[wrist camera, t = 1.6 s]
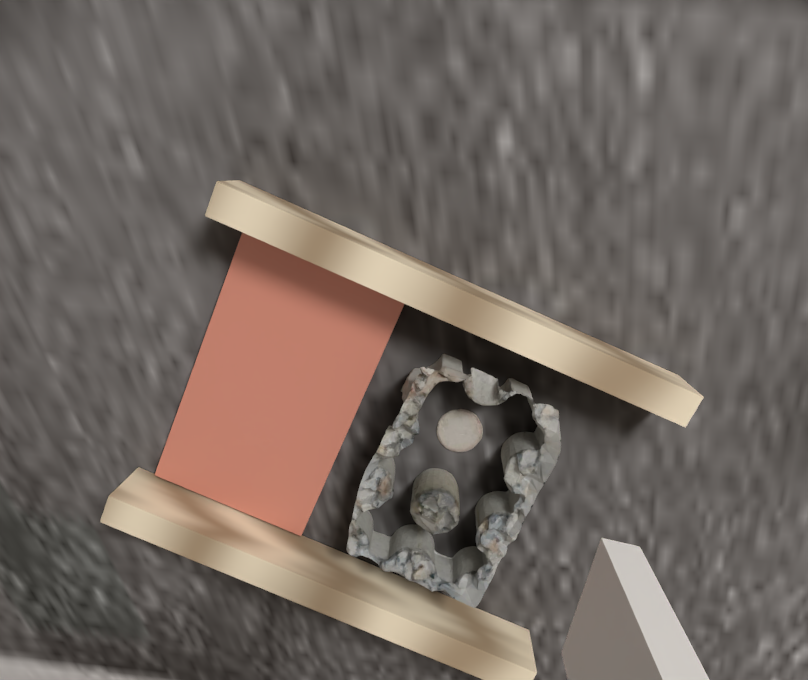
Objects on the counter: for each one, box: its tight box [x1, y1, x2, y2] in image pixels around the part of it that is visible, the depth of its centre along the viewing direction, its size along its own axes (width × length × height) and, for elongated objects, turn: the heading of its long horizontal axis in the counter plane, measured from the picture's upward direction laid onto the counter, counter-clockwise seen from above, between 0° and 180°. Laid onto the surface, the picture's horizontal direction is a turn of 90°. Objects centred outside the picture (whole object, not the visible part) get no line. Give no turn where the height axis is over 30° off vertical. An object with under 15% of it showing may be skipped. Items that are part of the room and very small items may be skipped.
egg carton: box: [346, 354, 561, 608], centre depth 30 cm, size 11×8×4 cm
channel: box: [100, 180, 704, 680], centre depth 30 cm, size 22×17×3 cm
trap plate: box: [155, 232, 404, 536], centre depth 31 cm, size 8×14×1 cm, turn 156°
